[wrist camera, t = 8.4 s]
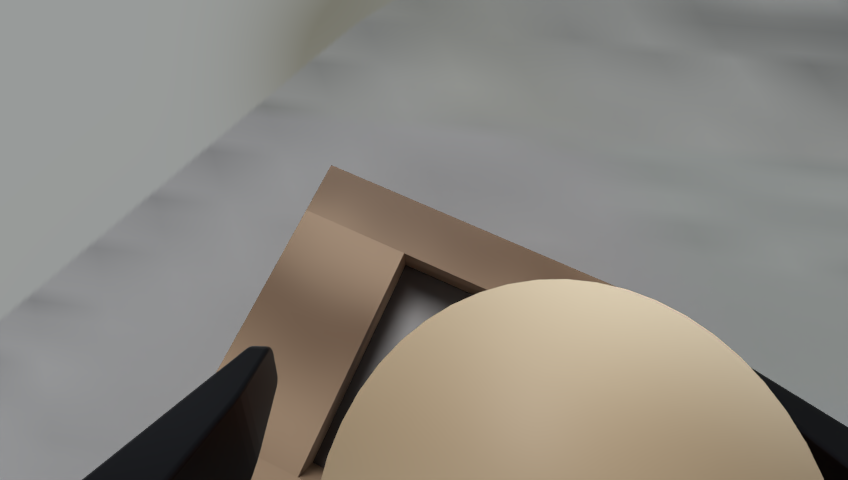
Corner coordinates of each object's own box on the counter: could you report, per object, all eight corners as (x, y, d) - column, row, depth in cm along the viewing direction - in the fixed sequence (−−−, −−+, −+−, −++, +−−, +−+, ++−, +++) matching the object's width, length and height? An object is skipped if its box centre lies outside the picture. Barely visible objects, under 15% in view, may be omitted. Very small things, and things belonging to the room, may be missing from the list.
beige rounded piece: (533, 471, 15) (944, 870, 3) (395, 485, 15) (315, 961, 3) (514, 331, 17) (759, 260, 5) (386, 342, 17) (305, 299, 5)
